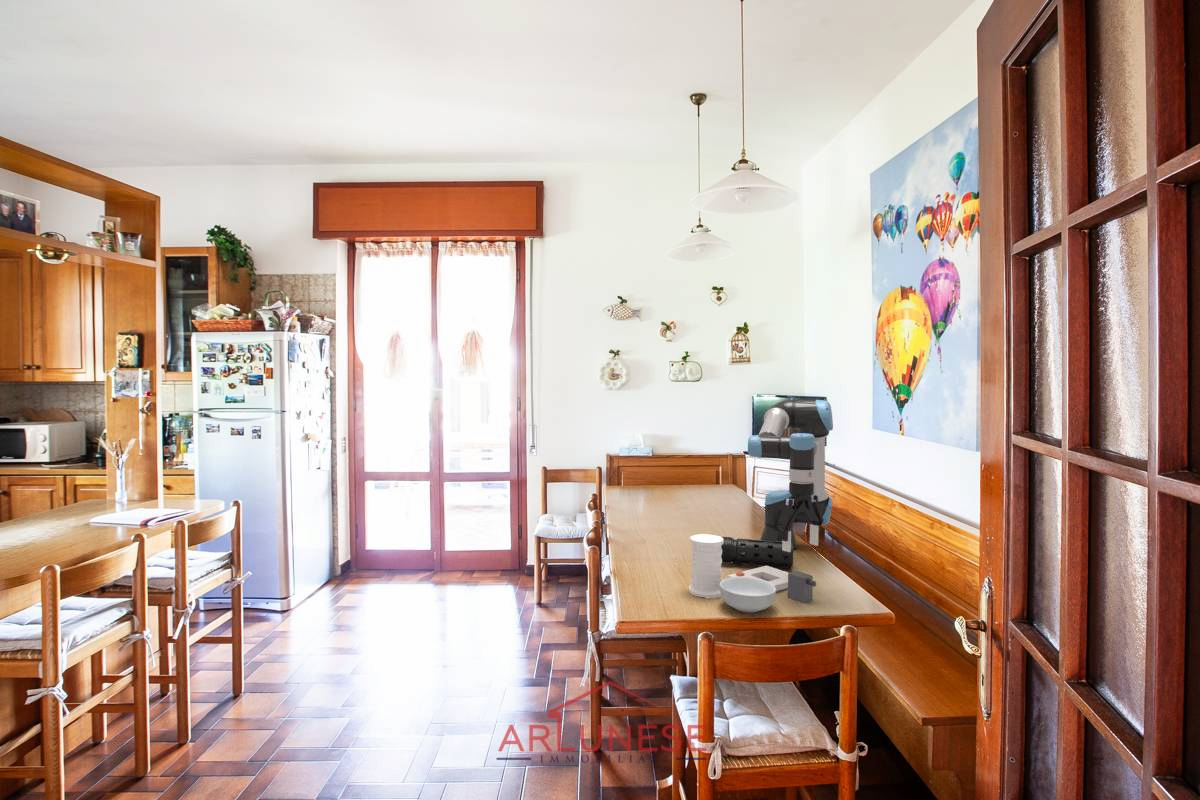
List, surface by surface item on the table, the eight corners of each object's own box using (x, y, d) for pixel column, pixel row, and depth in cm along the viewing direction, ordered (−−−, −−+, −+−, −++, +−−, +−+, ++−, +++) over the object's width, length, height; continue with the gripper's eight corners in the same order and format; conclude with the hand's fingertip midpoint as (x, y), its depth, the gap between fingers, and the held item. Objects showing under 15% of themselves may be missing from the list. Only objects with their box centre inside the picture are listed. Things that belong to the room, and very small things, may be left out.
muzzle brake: (793, 573, 220) (793, 545, 220) (715, 567, 227) (715, 539, 227) (791, 565, 229) (791, 538, 229) (716, 559, 236) (716, 533, 236)
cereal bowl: (736, 621, 176) (736, 597, 175) (710, 601, 192) (710, 579, 191) (786, 615, 180) (787, 591, 180) (757, 596, 196) (757, 574, 196)
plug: (787, 597, 195) (788, 573, 195) (796, 594, 198) (797, 570, 197) (809, 605, 188) (810, 580, 188) (818, 602, 191) (819, 577, 190)
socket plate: (766, 572, 220) (766, 563, 220) (803, 584, 207) (803, 575, 207) (727, 582, 209) (727, 572, 209) (763, 596, 196) (763, 586, 196)
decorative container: (681, 589, 202) (682, 536, 201) (708, 584, 207) (709, 532, 207) (703, 600, 192) (704, 544, 191) (731, 594, 197) (732, 540, 197)
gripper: (785, 487, 183) (784, 556, 183) (835, 480, 196) (834, 544, 197) (765, 483, 189) (764, 550, 189) (816, 477, 203) (815, 539, 203)
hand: (800, 548), depth 193 cm, fingers open, 13 cm apart
